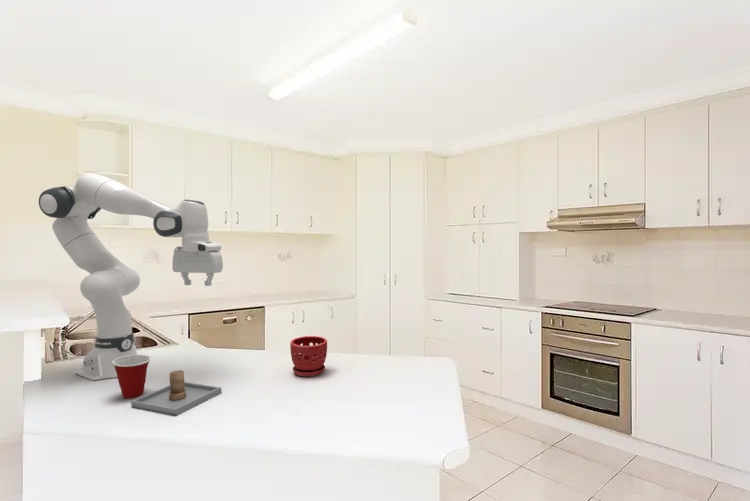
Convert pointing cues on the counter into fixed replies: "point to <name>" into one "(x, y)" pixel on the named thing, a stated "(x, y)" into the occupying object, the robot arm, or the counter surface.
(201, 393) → the grey tray
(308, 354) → the plant pot
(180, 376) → the walnut pestle
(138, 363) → the plastic cup
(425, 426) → the counter surface
